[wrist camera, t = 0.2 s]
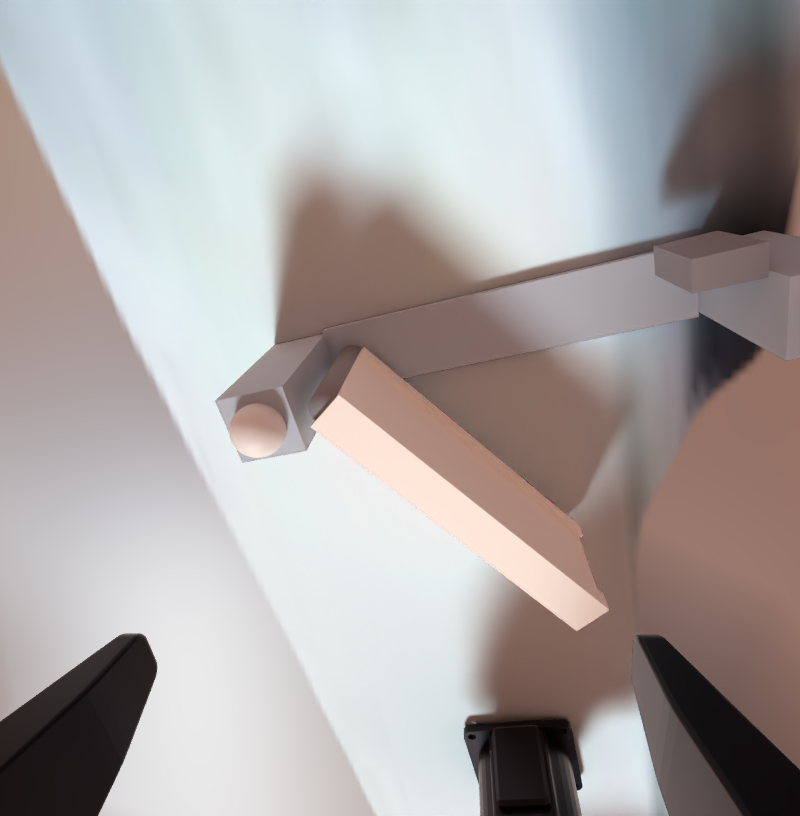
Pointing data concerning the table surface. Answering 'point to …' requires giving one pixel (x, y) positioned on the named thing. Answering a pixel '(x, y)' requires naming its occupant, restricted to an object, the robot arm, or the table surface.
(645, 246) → the table surface
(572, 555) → the gate
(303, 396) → the gate frame
